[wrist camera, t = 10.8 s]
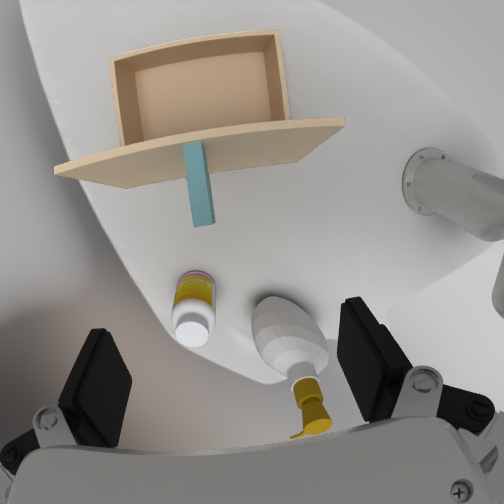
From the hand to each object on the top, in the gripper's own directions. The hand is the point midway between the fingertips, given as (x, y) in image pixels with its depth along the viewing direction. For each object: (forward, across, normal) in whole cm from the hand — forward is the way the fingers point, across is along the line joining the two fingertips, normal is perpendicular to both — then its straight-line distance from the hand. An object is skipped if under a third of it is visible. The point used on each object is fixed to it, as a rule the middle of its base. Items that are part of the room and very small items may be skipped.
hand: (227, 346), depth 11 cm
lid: (+18, +1, -5) cm, 19 cm away
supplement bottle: (+36, +7, +18) cm, 41 cm away
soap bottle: (+37, -7, +26) cm, 45 cm away
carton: (+36, +2, -11) cm, 38 cm away
